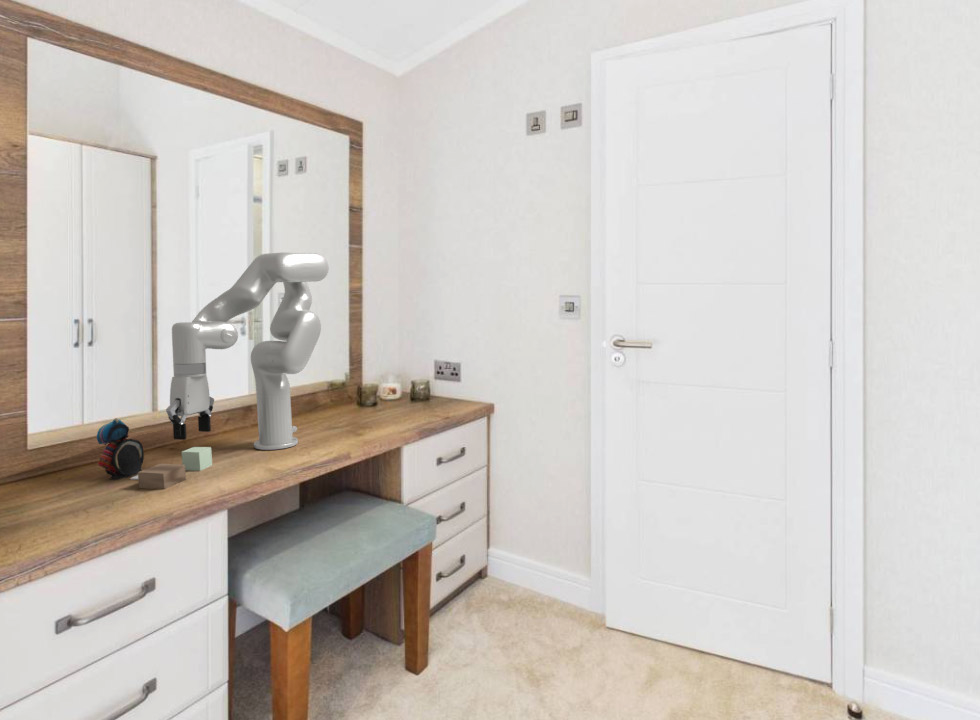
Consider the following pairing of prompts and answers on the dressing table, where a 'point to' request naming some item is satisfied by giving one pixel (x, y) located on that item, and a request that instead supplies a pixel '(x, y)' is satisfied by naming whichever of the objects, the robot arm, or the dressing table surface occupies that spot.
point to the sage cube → (197, 458)
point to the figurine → (119, 451)
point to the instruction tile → (135, 477)
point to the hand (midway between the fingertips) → (192, 435)
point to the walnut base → (161, 476)
